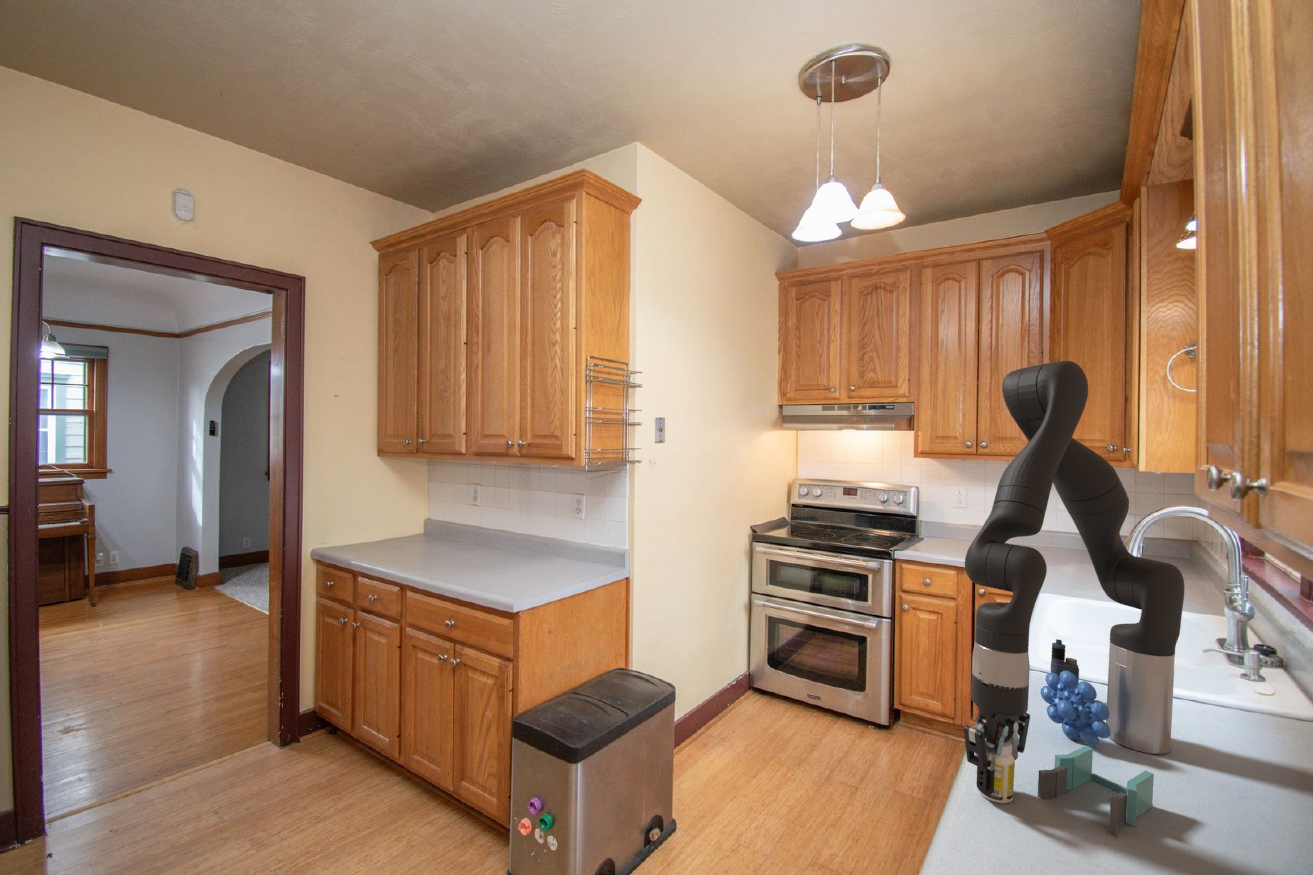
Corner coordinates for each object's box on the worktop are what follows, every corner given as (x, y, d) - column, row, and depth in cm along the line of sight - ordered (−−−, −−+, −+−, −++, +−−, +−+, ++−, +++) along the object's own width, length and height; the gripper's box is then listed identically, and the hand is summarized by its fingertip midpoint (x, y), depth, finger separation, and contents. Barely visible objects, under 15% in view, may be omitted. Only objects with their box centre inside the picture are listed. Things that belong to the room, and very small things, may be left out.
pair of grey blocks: (1054, 787, 94) (1055, 761, 94) (1133, 826, 85) (1134, 798, 85) (1036, 796, 91) (1037, 770, 91) (1115, 837, 83) (1117, 808, 82)
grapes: (1026, 729, 113) (1028, 665, 112) (1047, 722, 116) (1049, 660, 116) (1095, 761, 102) (1098, 690, 102) (1116, 752, 105) (1119, 684, 105)
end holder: (1080, 772, 99) (1081, 741, 99) (1160, 808, 89) (1162, 775, 89) (1052, 787, 94) (1053, 755, 94) (1134, 827, 85) (1135, 792, 85)
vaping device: (1046, 693, 129) (1049, 637, 129) (1073, 695, 128) (1076, 639, 128) (1053, 698, 126) (1055, 641, 126) (1080, 701, 126) (1082, 643, 125)
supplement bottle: (1000, 785, 94) (1003, 732, 94) (1020, 804, 89) (1022, 748, 89) (970, 785, 94) (973, 731, 94) (988, 804, 89) (990, 747, 89)
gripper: (1001, 658, 98) (997, 761, 98) (948, 674, 91) (943, 786, 91) (1051, 675, 92) (1046, 786, 92) (997, 694, 84) (992, 814, 85)
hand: (995, 785), depth 92 cm, fingers closed on supplement bottle, 4 cm apart
